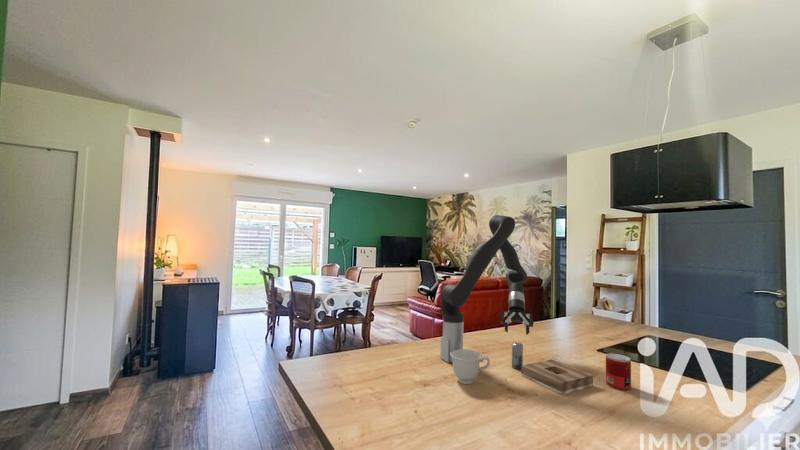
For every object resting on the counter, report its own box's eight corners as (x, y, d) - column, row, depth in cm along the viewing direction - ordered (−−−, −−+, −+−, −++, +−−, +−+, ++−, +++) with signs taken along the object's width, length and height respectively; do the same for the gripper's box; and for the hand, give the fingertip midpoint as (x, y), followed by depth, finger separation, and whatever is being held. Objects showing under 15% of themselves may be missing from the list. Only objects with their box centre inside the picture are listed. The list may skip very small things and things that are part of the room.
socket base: (560, 394, 117) (560, 383, 117) (521, 375, 133) (521, 365, 133) (593, 386, 125) (593, 375, 125) (552, 368, 141) (552, 359, 141)
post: (517, 370, 139) (517, 346, 139) (509, 366, 143) (509, 343, 143) (524, 368, 141) (525, 344, 141) (517, 365, 145) (517, 341, 145)
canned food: (630, 392, 120) (630, 362, 121) (604, 386, 125) (604, 356, 126) (631, 385, 126) (631, 356, 127) (606, 380, 131) (606, 351, 132)
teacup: (490, 390, 119) (491, 362, 120) (448, 385, 122) (449, 358, 123) (488, 377, 131) (488, 351, 131) (450, 373, 134) (450, 348, 134)
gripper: (501, 297, 162) (500, 326, 150) (532, 299, 157) (534, 329, 146) (501, 306, 166) (500, 335, 155) (531, 308, 162) (533, 338, 150)
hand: (516, 332), depth 150 cm, fingers open, 8 cm apart
